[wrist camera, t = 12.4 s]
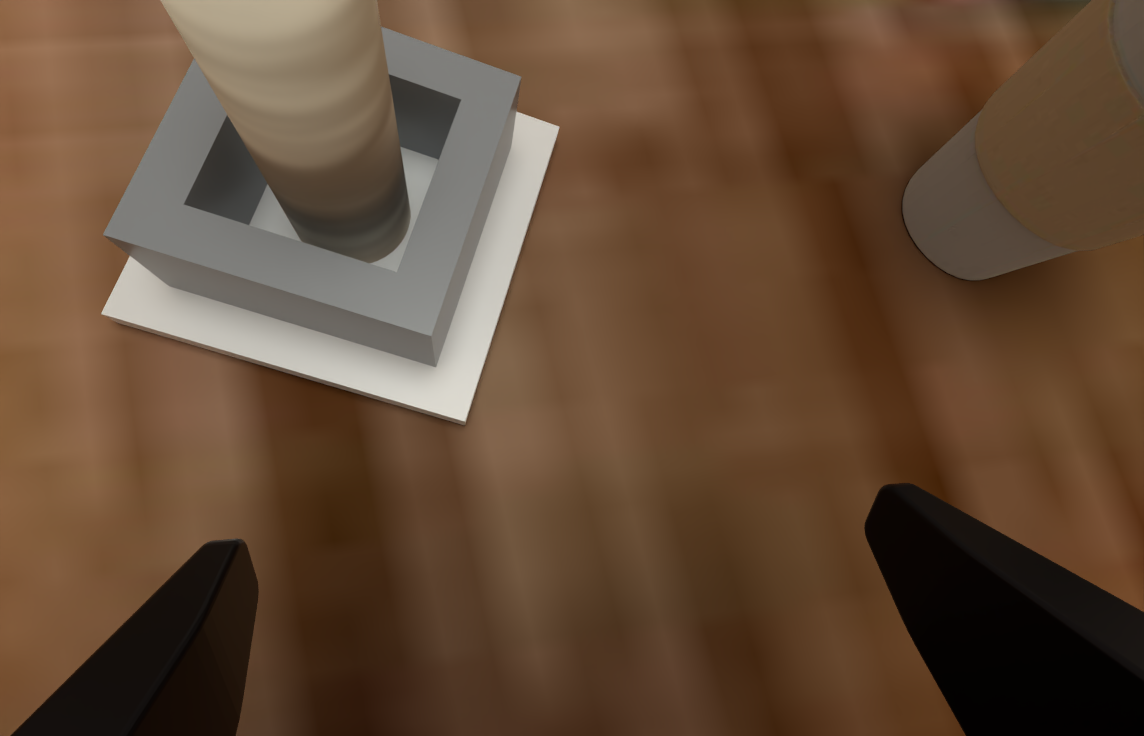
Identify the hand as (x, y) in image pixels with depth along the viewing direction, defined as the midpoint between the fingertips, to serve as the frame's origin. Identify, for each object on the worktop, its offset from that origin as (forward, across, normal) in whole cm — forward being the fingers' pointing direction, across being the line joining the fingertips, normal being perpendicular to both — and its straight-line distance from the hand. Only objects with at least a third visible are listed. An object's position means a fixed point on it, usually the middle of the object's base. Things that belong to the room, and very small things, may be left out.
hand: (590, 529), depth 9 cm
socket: (+17, +5, +2) cm, 18 cm away
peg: (+17, +5, +1) cm, 17 cm away
